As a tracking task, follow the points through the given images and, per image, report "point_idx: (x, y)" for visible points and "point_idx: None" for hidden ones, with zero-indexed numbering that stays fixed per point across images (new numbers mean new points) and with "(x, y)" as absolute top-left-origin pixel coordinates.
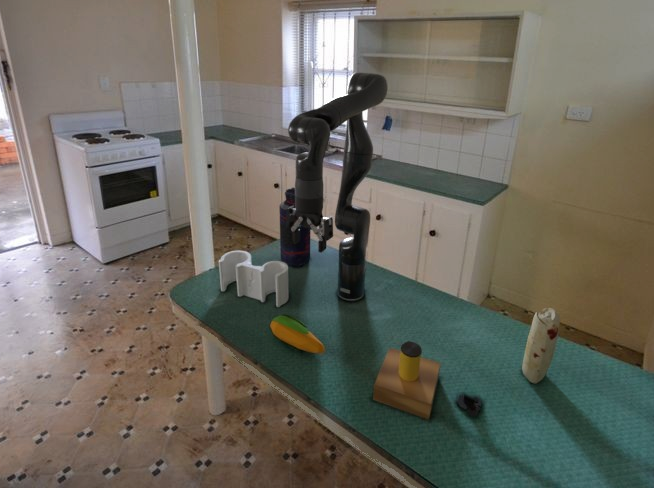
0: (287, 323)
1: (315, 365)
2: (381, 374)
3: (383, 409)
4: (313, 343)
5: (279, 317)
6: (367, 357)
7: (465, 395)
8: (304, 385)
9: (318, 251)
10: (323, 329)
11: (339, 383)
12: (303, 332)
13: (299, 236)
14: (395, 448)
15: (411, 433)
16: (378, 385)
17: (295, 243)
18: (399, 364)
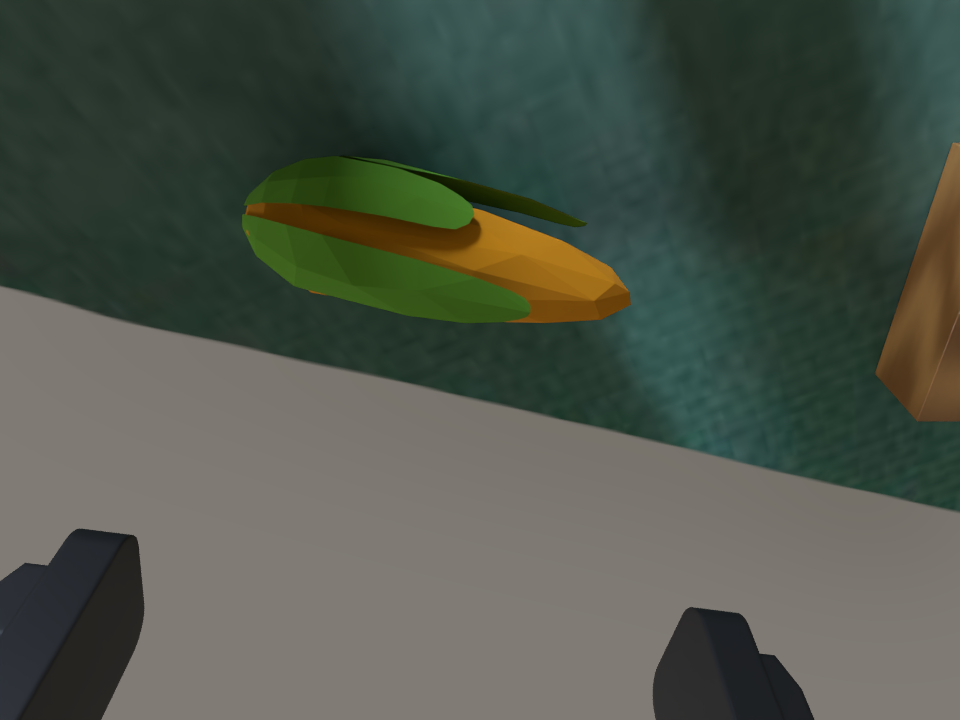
0: (378, 299)
1: None
2: (954, 363)
3: None
4: (569, 315)
5: (296, 261)
6: (834, 159)
7: None
8: (582, 412)
9: (653, 700)
10: (527, 45)
11: (721, 354)
12: (500, 318)
13: (74, 641)
14: (954, 498)
15: None
16: (936, 418)
17: (137, 641)
18: None
